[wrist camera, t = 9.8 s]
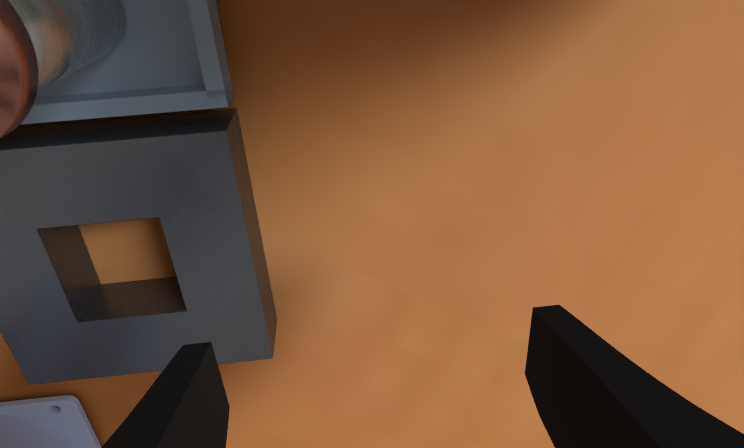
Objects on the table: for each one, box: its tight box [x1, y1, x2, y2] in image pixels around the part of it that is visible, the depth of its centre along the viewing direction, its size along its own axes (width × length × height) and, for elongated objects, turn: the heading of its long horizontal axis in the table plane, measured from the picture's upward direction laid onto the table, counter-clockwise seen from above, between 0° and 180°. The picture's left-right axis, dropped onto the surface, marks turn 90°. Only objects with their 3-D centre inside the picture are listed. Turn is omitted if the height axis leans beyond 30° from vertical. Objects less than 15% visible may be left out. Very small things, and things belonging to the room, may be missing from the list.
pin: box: [0, 0, 126, 138], centre depth 13 cm, size 4×4×8 cm
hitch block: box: [0, 109, 277, 385], centre depth 20 cm, size 10×10×2 cm
